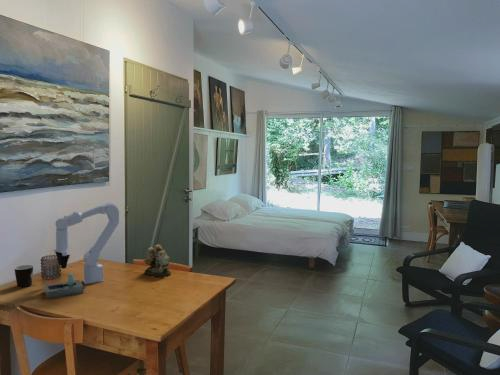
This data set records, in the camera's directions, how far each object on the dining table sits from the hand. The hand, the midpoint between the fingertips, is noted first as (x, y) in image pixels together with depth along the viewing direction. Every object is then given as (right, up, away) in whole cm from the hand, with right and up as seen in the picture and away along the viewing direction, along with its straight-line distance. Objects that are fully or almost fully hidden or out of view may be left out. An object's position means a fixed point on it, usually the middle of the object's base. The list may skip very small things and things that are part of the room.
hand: (62, 266), depth 204 cm
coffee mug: (-19, -10, 0) cm, 21 cm away
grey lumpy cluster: (+44, -9, +22) cm, 50 cm away
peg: (+8, -11, -9) cm, 16 cm away
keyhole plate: (+6, -11, -10) cm, 16 cm away
